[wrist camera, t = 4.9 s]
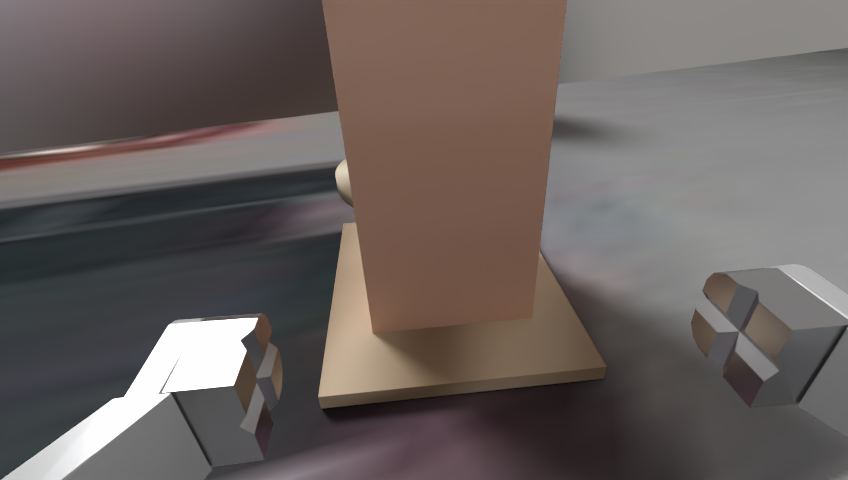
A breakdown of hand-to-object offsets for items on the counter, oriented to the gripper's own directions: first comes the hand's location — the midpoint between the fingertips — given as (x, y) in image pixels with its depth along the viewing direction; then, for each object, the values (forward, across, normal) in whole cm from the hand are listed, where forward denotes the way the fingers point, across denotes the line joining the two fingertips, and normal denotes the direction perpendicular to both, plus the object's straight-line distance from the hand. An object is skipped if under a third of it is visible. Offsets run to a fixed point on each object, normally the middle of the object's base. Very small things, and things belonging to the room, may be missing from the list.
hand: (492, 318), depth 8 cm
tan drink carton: (+10, 0, +6) cm, 12 cm away
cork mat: (+10, 0, +7) cm, 12 cm away
